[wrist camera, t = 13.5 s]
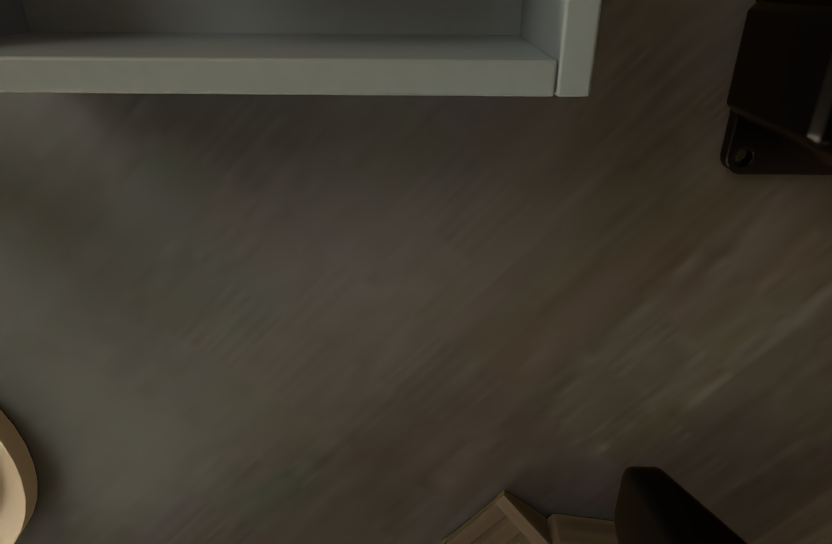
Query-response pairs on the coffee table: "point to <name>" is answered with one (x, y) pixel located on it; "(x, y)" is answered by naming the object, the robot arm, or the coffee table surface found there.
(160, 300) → the coffee table surface
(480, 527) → the model
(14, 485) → the monster figurine
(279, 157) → the coffee table surface
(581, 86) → the bin
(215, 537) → the coffee table surface
